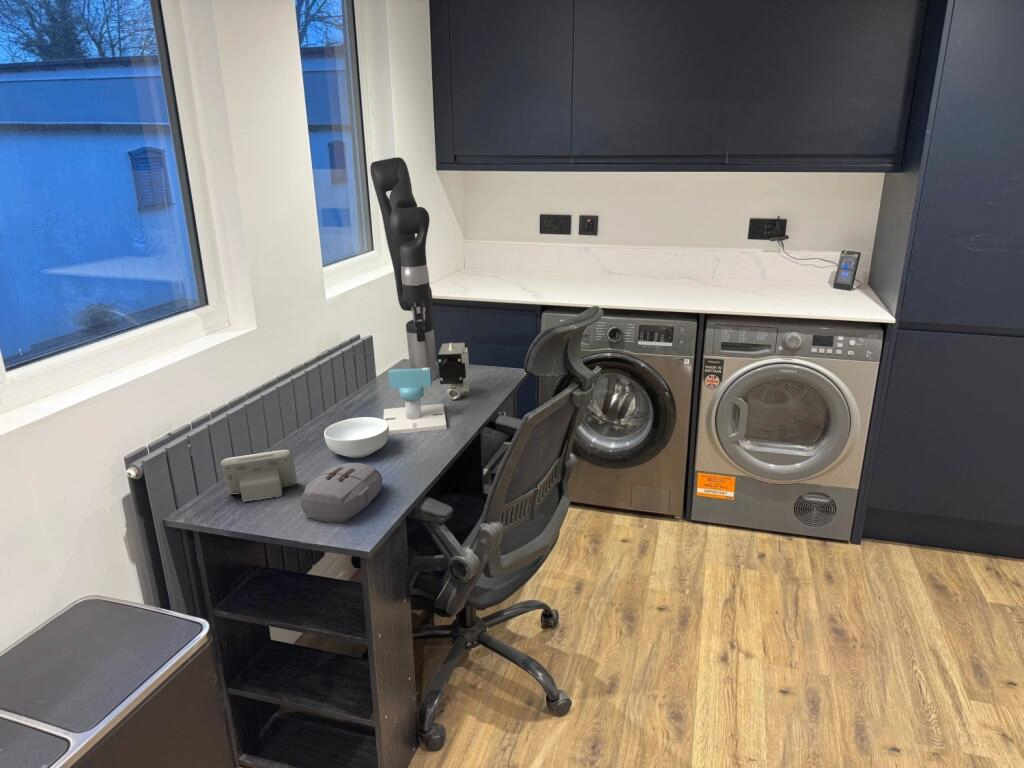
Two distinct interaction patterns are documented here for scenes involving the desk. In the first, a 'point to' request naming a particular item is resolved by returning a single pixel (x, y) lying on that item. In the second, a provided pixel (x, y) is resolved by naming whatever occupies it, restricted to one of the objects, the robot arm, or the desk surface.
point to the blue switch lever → (410, 382)
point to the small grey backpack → (341, 492)
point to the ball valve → (454, 368)
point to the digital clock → (259, 474)
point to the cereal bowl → (357, 436)
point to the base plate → (421, 422)
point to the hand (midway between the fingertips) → (420, 337)
